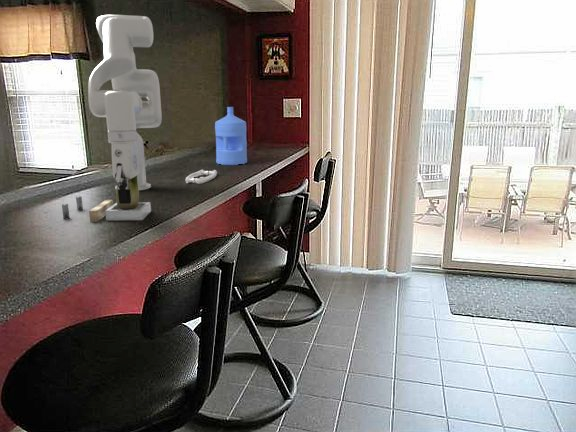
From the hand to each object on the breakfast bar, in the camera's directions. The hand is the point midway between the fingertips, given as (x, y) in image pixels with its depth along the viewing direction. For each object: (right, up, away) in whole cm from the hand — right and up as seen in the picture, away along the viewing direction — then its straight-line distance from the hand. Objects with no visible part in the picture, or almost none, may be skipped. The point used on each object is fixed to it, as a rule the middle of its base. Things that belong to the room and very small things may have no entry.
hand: (128, 200), depth 133 cm
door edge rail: (-8, -4, +2) cm, 9 cm away
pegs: (-17, -4, +3) cm, 18 cm away
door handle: (+10, +10, +60) cm, 62 cm away
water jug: (+17, +22, +104) cm, 107 cm away
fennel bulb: (0, -3, +1) cm, 3 cm away
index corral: (0, -4, +1) cm, 4 cm away
